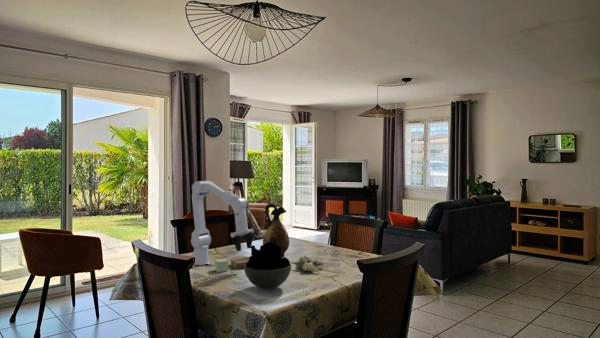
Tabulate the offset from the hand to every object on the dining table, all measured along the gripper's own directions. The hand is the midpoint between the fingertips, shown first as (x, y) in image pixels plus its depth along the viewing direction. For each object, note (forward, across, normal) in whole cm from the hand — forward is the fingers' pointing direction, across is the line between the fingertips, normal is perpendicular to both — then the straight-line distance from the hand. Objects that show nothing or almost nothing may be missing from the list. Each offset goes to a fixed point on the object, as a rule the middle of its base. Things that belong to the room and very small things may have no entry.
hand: (244, 249), depth 200 cm
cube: (+9, -6, +11) cm, 16 cm away
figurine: (+14, +18, -26) cm, 34 cm away
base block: (+10, +7, +8) cm, 14 cm away
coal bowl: (+14, -16, -27) cm, 34 cm away
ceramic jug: (+10, +34, +9) cm, 36 cm away
